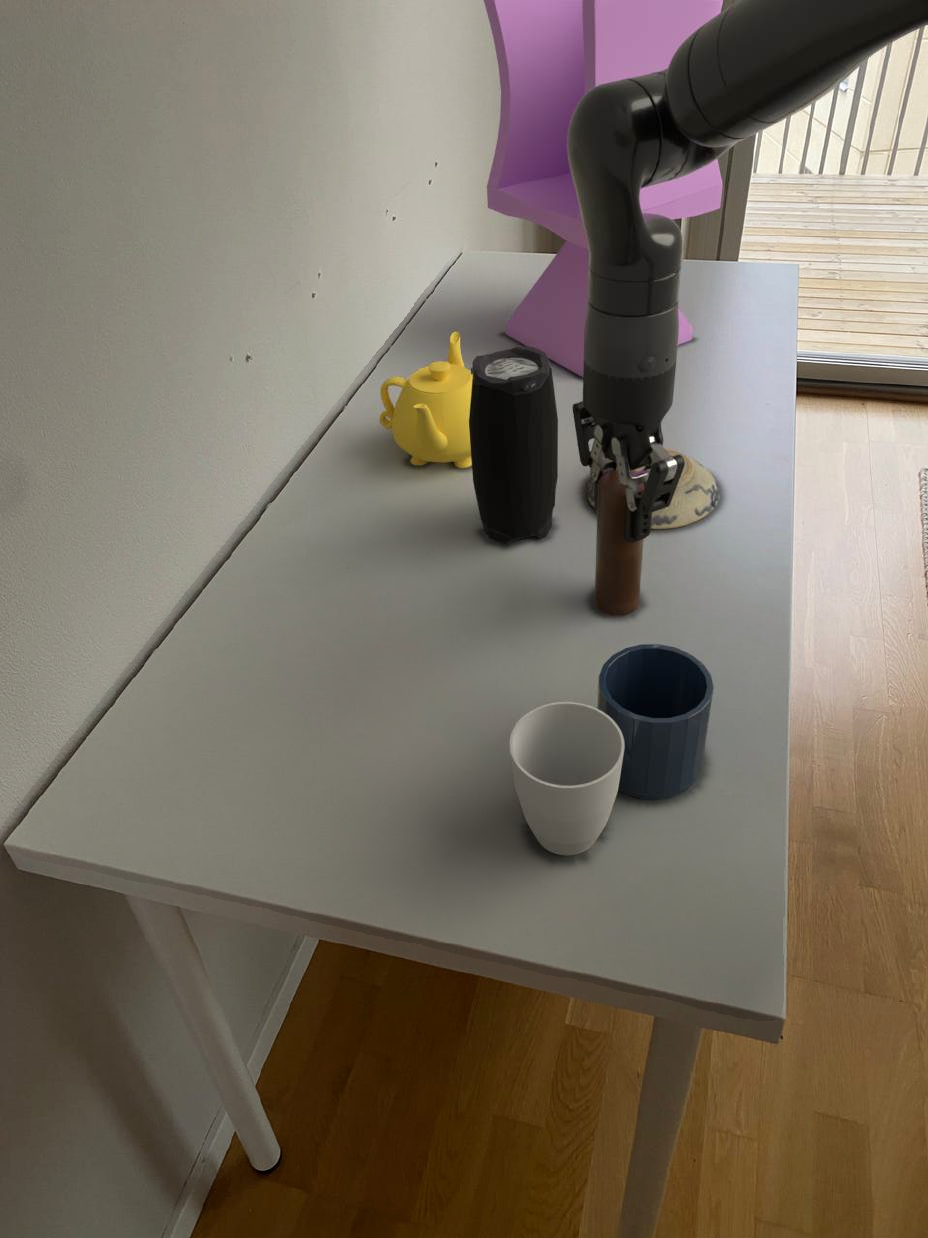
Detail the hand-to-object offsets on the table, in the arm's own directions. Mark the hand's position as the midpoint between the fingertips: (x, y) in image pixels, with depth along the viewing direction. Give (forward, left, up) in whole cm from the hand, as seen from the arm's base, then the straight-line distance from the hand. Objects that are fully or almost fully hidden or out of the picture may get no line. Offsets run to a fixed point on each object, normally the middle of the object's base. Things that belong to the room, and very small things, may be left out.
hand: (620, 524), depth 88 cm
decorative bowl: (+7, -19, -9) cm, 22 cm away
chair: (+35, -51, -9) cm, 63 cm away
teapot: (+34, -13, -9) cm, 38 cm away
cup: (-11, +26, -9) cm, 30 cm away
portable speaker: (+16, -5, -9) cm, 19 cm away
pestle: (0, 0, -9) cm, 9 cm away
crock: (-13, +16, -9) cm, 23 cm away
